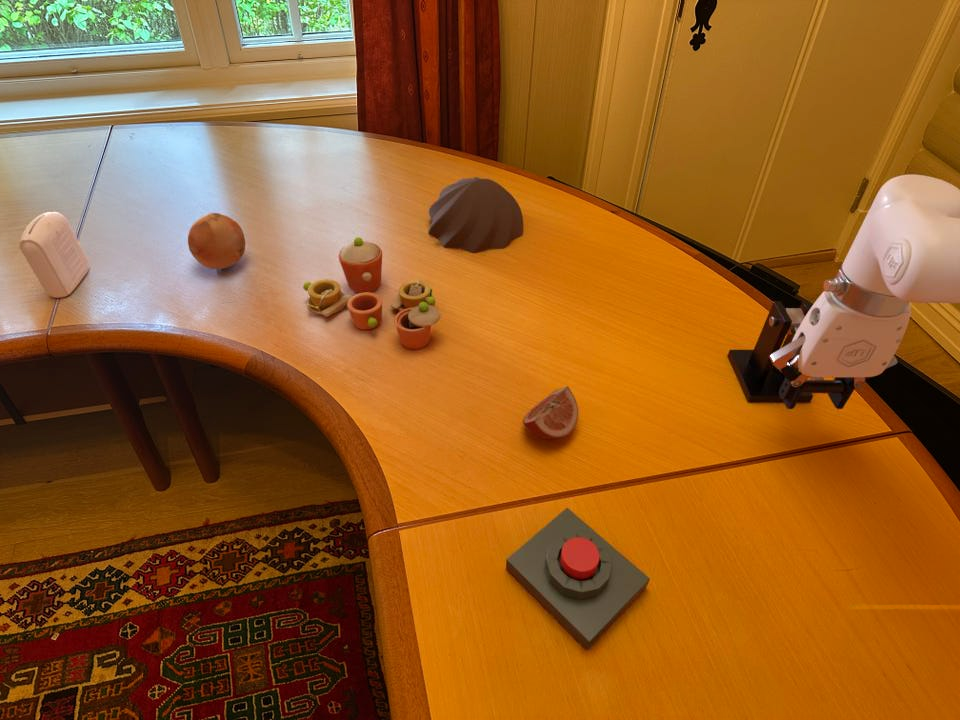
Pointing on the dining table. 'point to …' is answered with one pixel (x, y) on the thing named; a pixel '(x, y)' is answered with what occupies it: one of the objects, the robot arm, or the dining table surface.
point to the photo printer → (54, 254)
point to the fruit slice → (553, 415)
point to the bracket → (766, 358)
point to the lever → (816, 382)
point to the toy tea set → (375, 296)
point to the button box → (571, 600)
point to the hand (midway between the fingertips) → (810, 400)
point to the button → (579, 558)
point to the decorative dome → (475, 216)
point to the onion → (216, 241)
